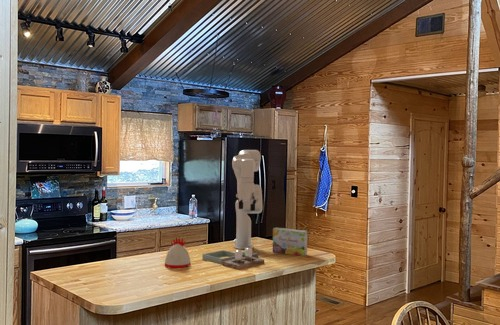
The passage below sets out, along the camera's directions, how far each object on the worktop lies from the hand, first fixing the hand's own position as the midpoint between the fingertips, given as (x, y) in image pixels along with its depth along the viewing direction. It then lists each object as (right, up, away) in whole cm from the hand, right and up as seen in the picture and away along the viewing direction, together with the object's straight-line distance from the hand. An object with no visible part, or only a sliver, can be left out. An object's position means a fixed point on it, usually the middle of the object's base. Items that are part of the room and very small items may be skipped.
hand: (246, 209), depth 283 cm
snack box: (+26, -29, +14) cm, 41 cm away
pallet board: (-2, -29, -19) cm, 35 cm away
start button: (0, -28, -1) cm, 28 cm away
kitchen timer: (-38, -29, -19) cm, 51 cm away
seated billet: (-4, -28, -22) cm, 36 cm away
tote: (-14, -28, -7) cm, 32 cm away
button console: (0, -28, -1) cm, 28 cm away
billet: (+1, -28, -16) cm, 32 cm away
